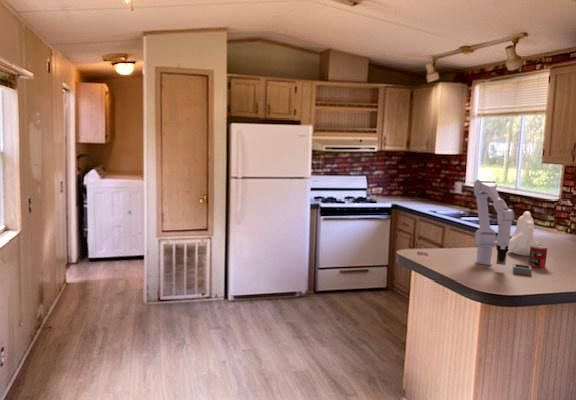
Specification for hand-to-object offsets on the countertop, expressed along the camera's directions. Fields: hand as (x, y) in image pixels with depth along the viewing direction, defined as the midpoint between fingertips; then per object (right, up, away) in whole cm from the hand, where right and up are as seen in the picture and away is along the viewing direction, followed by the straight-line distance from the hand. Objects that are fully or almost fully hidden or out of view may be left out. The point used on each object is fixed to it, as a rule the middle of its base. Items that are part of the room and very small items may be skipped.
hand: (500, 260), depth 255 cm
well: (+10, -6, 0) cm, 12 cm away
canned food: (+24, -5, +13) cm, 28 cm away
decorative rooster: (+27, -2, +38) cm, 47 cm away
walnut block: (0, -2, 0) cm, 2 cm away
